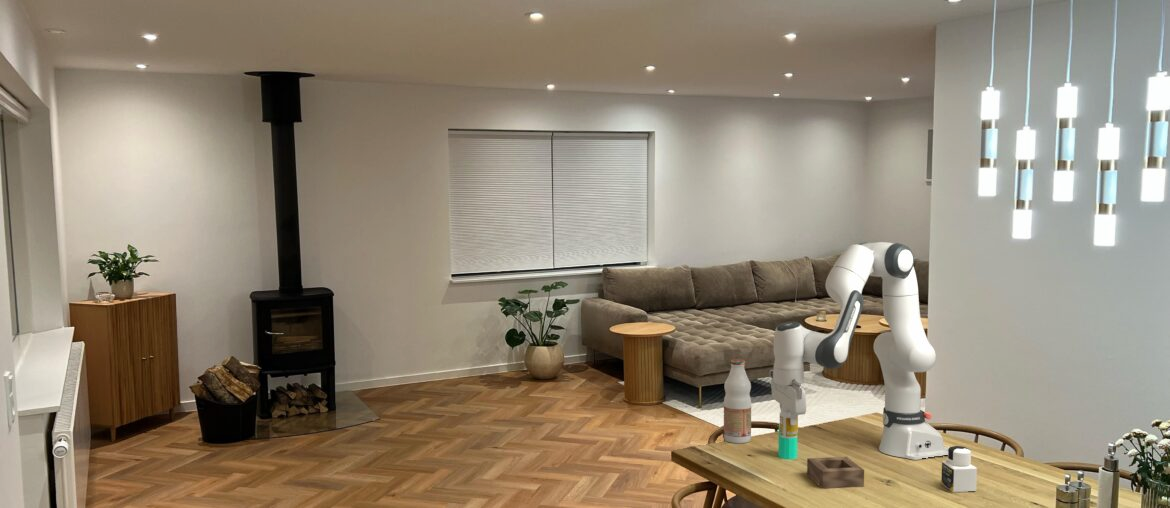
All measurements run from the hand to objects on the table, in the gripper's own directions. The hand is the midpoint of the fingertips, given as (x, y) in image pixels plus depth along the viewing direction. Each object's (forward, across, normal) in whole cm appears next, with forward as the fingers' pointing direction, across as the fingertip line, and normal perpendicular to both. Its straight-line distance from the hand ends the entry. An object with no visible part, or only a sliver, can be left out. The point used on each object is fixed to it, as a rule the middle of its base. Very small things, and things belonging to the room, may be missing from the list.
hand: (788, 421), depth 262 cm
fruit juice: (+17, +39, +5) cm, 43 cm away
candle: (+18, +19, -6) cm, 27 cm away
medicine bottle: (+18, -16, -45) cm, 51 cm away
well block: (+17, -5, -12) cm, 22 cm away
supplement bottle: (+5, 0, 0) cm, 5 cm away
